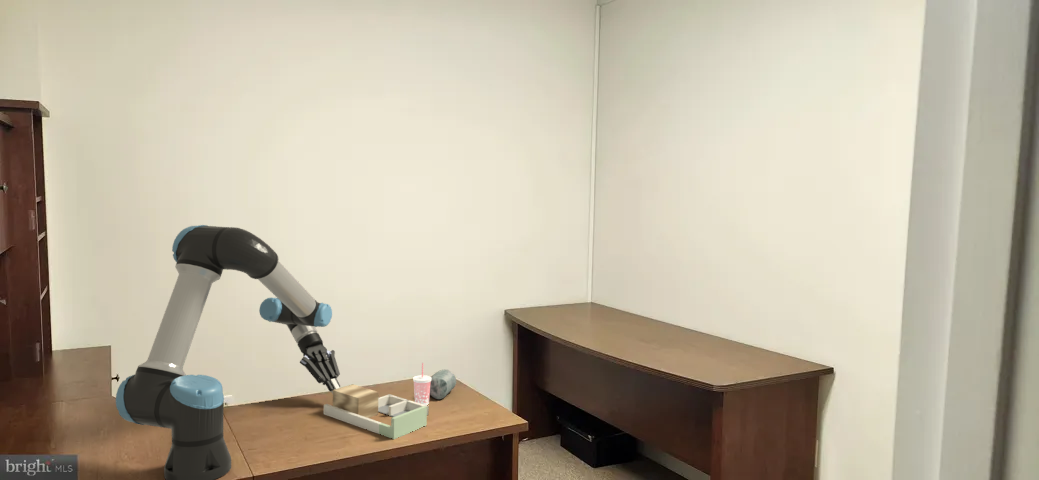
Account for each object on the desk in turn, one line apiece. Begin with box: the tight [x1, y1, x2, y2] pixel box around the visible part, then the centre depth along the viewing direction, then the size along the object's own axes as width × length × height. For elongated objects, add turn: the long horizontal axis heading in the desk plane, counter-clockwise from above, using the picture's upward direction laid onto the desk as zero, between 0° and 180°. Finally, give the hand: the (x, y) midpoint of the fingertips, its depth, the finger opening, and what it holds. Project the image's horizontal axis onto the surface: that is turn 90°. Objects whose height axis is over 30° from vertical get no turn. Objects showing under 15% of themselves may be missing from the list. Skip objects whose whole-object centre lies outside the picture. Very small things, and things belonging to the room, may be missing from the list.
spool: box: [430, 369, 457, 400], centre depth 231 cm, size 14×10×10 cm
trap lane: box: [323, 393, 429, 440], centre depth 208 cm, size 31×20×6 cm, turn 54°
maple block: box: [332, 384, 379, 419], centre depth 210 cm, size 12×8×8 cm, turn 54°
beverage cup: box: [412, 362, 432, 406], centre depth 220 cm, size 6×6×14 cm
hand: (339, 397), depth 216 cm, fingers closed
